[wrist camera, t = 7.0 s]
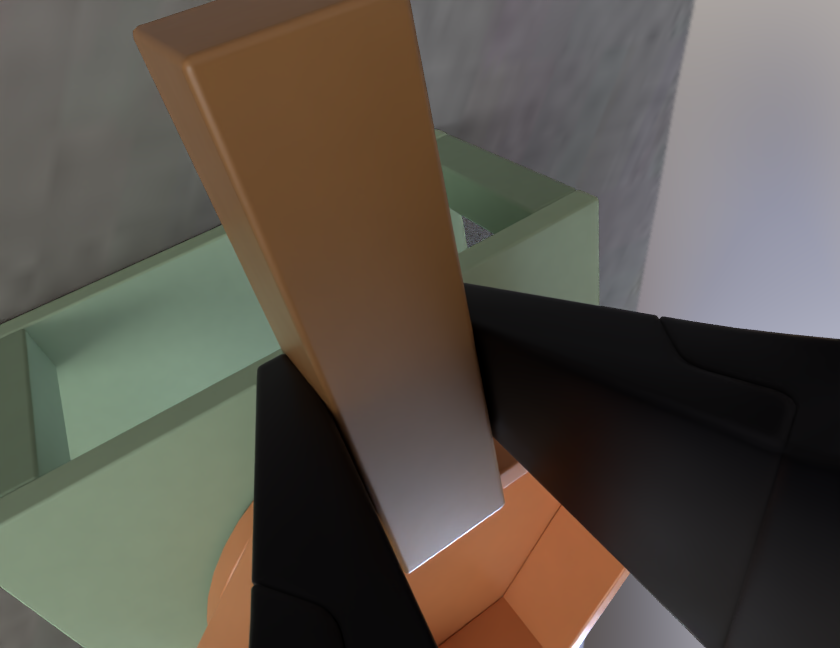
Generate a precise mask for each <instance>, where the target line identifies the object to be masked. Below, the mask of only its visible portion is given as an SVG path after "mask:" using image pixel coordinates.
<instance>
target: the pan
mask: <svg viewBox="0 0 840 648" xmlns="http://www.w3.org/2000/svg"><path fill="white" fill-rule="evenodd" d="M133 37H134V40H135V42H136V45H137V47H138V49H139V51H140V53H141V55H142V57H143V59H144V61H145V63H146V66H147V68H148V70H149V72H150V74H151V76H152V78H153V80H154V82H155V85H156V87H157V89H158V91H159V93H160V95H161V97H162V99H163V101H164V103H165V106H166V108H167V110H168V112H169V114H170V116H171V118H172V120H173V122H174V124H175V127H176V129H177V131H178V133H179V135H180V137H181V139H182V141H183V143H184V146H185V148H186V150H187V152H188V154H189V156H190V158H191V160H192V162H193V164H194V167H195V169H196V171H197V173H198V175H199V177H200V179H201V181H202V183H203V185H204V188H205V190H206V192H207V194H208V196H209V198H210V200H211V202H212V204H213V206H214V209H215V211H216V213H217V215H218V217H219V219H220V221H221V223H222V225H223V228H224V230H225V232H226V234H227V236H228V238H229V240H230V242H231V244H232V246H233V249H234V251H235V253H236V255H237V257H238V259H239V261H240V263H241V265H242V267H243V270H244V272H245V274H246V276H247V278H248V280H249V282H250V284H251V286H252V289H253V291H254V293H255V295H256V297H257V299H258V301H259V303H260V305H261V307H262V310H263V312H264V314H265V316H266V318H267V320H268V322H269V324H270V326H271V328H272V331H273V333H274V335H275V337H276V339H277V341H278V343H279V345H280V347H281V350H282V352H283V354H286V355H287V356H288V358H289V359H290V360H291V361H292V363H293V364H294V365H295V366H296V368H297V369H298V370H299V371H300V373H301V374H302V375H303V376H304V377H305V379H306V380H307V381H308V382H309V384H310V385H311V386H312V387H313V389H314V390H315V391H316V392H317V394H318V395H319V396H320V398H321V399H322V400H323V402H324V403H325V404H326V406H327V408H328V409H329V411H330V414H331V416H332V418H333V420H334V422H335V424H336V427H337V429H338V431H339V433H340V435H341V438H342V440H343V442H344V444H345V446H346V448H347V451H348V453H349V455H350V457H351V459H352V461H353V464H354V466H355V468H356V470H357V472H358V474H359V477H360V479H361V481H362V483H363V485H364V487H365V490H366V492H367V494H368V496H369V498H370V500H371V503H372V505H373V507H374V509H375V511H376V513H377V516H378V518H379V520H380V522H381V524H382V527H383V529H384V531H385V533H386V535H387V537H388V540H389V542H390V544H391V546H392V548H393V550H394V553H395V555H396V557H397V559H398V561H399V563H400V566H401V568H402V570H403V572H404V574H405V576H406V579H407V581H408V583H409V585H410V587H411V589H412V592H413V594H414V596H415V598H416V600H417V602H418V605H419V607H420V609H421V611H422V613H423V616H424V618H425V620H426V622H427V624H428V626H429V629H430V631H431V633H432V635H433V637H434V639H435V642H436V644H437V646H438V648H578V647H579V646H580V644H581V643H582V641H583V640H584V639H585V637H586V636H587V634H588V633H589V631H590V630H591V628H592V627H593V626H594V624H595V623H596V621H597V620H598V618H599V617H600V615H601V614H602V613H603V611H604V610H605V608H606V607H607V605H608V604H609V602H610V601H611V600H612V598H613V597H614V595H615V594H616V592H617V591H618V590H619V588H620V587H621V585H622V584H623V582H624V581H625V579H626V578H627V577H628V575H629V573H630V572H629V571H628V570H627V569H626V568H625V567H624V566H623V565H622V564H621V563H620V562H619V561H618V560H617V559H616V558H615V557H614V556H613V555H612V554H611V553H610V552H609V551H608V550H606V549H605V548H604V547H603V546H602V545H601V544H600V543H599V542H598V541H597V540H596V539H595V538H594V537H593V536H592V535H591V534H590V533H589V532H588V531H587V530H586V529H585V528H584V527H583V526H582V525H581V524H580V523H579V522H578V521H577V520H576V519H575V518H574V517H573V516H572V515H571V514H570V513H569V512H568V511H567V510H566V509H565V508H564V507H563V506H562V505H561V504H560V503H559V502H558V501H557V500H556V499H555V498H554V497H553V496H552V495H551V494H550V493H549V492H548V491H547V490H546V489H545V488H544V487H543V486H542V485H541V484H540V483H539V482H538V481H537V480H536V479H535V478H534V477H533V476H532V475H531V474H530V473H529V472H528V471H527V470H526V469H525V468H524V467H523V466H522V465H521V464H520V463H519V462H518V461H517V460H516V459H515V458H514V457H513V456H512V455H511V454H510V453H509V452H508V451H507V450H506V449H505V448H504V447H503V446H502V445H501V444H500V443H499V442H498V441H497V440H496V439H495V438H494V437H493V436H492V430H491V425H490V420H489V414H488V409H487V404H486V399H485V393H484V388H483V383H482V378H481V372H480V367H479V362H478V357H477V351H476V346H475V341H474V336H473V330H472V325H471V320H470V315H469V309H468V304H467V299H466V293H465V288H464V283H463V278H462V272H461V267H460V262H459V257H458V251H457V246H456V241H455V236H454V230H453V225H452V220H451V215H450V209H449V204H448V199H447V193H446V188H445V183H444V178H443V172H442V167H441V162H440V157H439V151H438V146H437V141H436V136H435V130H434V125H433V120H432V115H431V109H430V104H429V99H428V94H427V88H426V83H425V78H424V72H423V67H422V62H421V57H420V51H419V46H418V41H417V36H416V30H415V25H414V20H413V15H412V9H411V4H410V0H216V1H213V2H210V3H207V4H203V5H200V6H197V7H194V8H191V9H188V10H185V11H182V12H179V13H176V14H173V15H170V16H167V17H164V18H161V19H158V20H155V21H152V22H149V23H145V24H142V25H139V26H137V27H136V28H135V29H134V30H133ZM253 502H254V500H253V501H252V503H251V504H250V506H249V507H248V508H247V510H246V511H245V513H244V514H243V515H242V517H241V518H240V520H239V521H238V523H237V524H236V526H235V528H234V530H233V532H232V533H231V535H230V537H229V539H228V541H227V542H226V544H225V546H224V548H223V551H222V553H221V556H220V558H219V561H218V563H217V566H216V568H215V571H214V573H213V578H212V582H211V586H210V590H209V595H208V604H207V625H208V626H207V628H206V630H205V632H204V634H203V636H202V638H201V640H200V642H199V644H198V646H197V648H249V632H250V606H251V588H252V587H253V586H254V585H253V583H252V541H253Z"/></svg>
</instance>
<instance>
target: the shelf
mask: <svg viewBox="0 0 840 648" xmlns="http://www.w3.org/2000/svg"><path fill="white" fill-rule="evenodd" d="M434 130H435V136H436V141H437V146H438V151H439V157H440V162H441V167H442V172H443V178H444V183H445V188H446V193H447V199H448V204H449V209H450V215H451V220H452V225H453V230H454V236H455V241H456V246H457V251H458V257H459V262H460V267H461V272H462V278H463V283H469V284H475V285H481V286H487V287H493V288H499V289H504V290H510V291H516V292H522V293H528V294H534V295H540V296H545V297H551V298H557V299H563V300H569V301H575V302H581V303H586V304H592V305H598V306H599V200H598V198H597V197H595V196H592V195H590V194H588V193H585V192H583V191H581V190H575V189H574V188H572V187H570V186H568V185H565V184H563V183H561V182H558V181H556V180H554V179H551V178H549V177H547V176H544V175H542V174H540V173H537V172H535V171H533V170H530V169H528V168H526V167H523V166H521V165H519V164H516V163H514V162H512V161H509V160H507V159H505V158H502V157H500V156H498V155H495V154H493V153H491V152H488V151H486V150H484V149H481V148H479V147H477V146H474V145H472V144H470V143H467V142H465V141H463V140H460V139H458V138H456V137H453V136H451V135H447V133H445V132H443V131H440V130H438V129H434ZM462 216H464V217H465V218H467V219H469V220H471V221H472V222H474V223H476V224H477V225H479V226H481V227H482V228H484V229H486V230H488V231H489V232H491V233H493V234H494V235H492V236H490V237H488V238H486V239H485V240H483V241H481V242H479V243H477V244H475V245H473V246H471V247H470V248H468V249H467V243H466V237H465V232H464V226H463V220H462ZM280 354H283V352H282V350H281V347H280V345H279V343H278V341H277V339H276V337H275V335H274V333H273V331H272V328H271V326H270V324H269V322H268V320H267V318H266V316H265V314H264V312H263V310H262V307H261V305H260V303H259V301H258V299H257V297H256V295H255V293H254V291H253V289H252V286H251V284H250V282H249V280H248V278H247V276H246V274H245V272H244V270H243V267H242V265H241V263H240V261H239V259H238V257H237V255H236V253H235V251H234V249H233V246H232V244H231V242H230V240H229V238H228V236H227V234H226V232H225V230H224V228H223V225H221V226H218V227H216V228H214V229H212V230H209V231H207V232H205V233H203V234H201V235H198V236H196V237H194V238H192V239H189V240H187V241H185V242H183V243H181V244H178V245H176V246H174V247H172V248H169V249H167V250H165V251H163V252H161V253H158V254H156V255H154V256H152V257H150V258H147V259H145V260H143V261H141V262H138V263H136V264H134V265H132V266H130V267H127V268H125V269H123V270H121V271H118V272H116V273H114V274H112V275H110V276H107V277H105V278H103V279H101V280H98V281H96V282H94V283H92V284H90V285H87V286H85V287H83V288H81V289H78V290H76V291H74V292H72V293H70V294H67V295H65V296H63V297H61V298H58V299H56V300H54V301H52V302H50V303H47V304H45V305H43V306H41V307H39V308H36V309H34V310H32V311H30V312H27V313H25V314H23V315H21V316H19V317H16V318H14V319H12V320H10V321H7V322H5V323H3V324H1V325H0V587H1V588H3V589H4V590H5V591H7V592H8V593H10V594H11V595H12V596H14V597H15V598H16V599H18V600H19V601H21V602H22V603H23V604H25V605H26V606H27V607H29V608H30V609H31V610H33V611H34V612H36V613H37V614H38V615H40V616H41V617H42V618H44V619H45V620H46V621H48V622H49V623H51V624H52V625H53V626H55V627H56V628H57V629H59V630H60V631H62V632H63V633H64V634H66V635H67V636H68V637H70V638H71V639H72V640H74V641H75V642H77V643H78V644H79V645H81V646H82V647H83V648H197V646H198V644H199V642H200V640H201V638H202V636H203V634H204V632H205V630H206V628H207V626H208V625H207V604H208V595H209V590H210V586H211V582H212V578H213V573H214V571H215V568H216V566H217V563H218V561H219V558H220V556H221V553H222V551H223V548H224V546H225V544H226V542H227V541H228V539H229V537H230V535H231V533H232V532H233V530H234V528H235V526H236V524H237V523H238V521H239V520H240V518H241V517H242V515H243V514H244V513H245V511H246V510H247V508H248V507H249V506H250V504H251V503H252V501H253V500H254V462H255V423H256V383H257V369H258V367H259V366H260V365H262V364H263V363H265V362H267V361H269V360H271V359H273V358H275V357H276V356H278V355H280Z"/></svg>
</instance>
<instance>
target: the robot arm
mask: <svg viewBox="0 0 840 648" xmlns="http://www.w3.org/2000/svg"><path fill="white" fill-rule="evenodd" d="M464 288H465V293H466V299H467V304H468V309H469V315H470V320H471V325H472V330H473V336H474V341H475V346H476V351H477V357H478V362H479V367H480V372H481V378H482V383H483V388H484V393H485V399H486V404H487V409H488V414H489V420H490V425H491V430H492V436H493V437H494V438H495V439H496V440H497V441H498V442H499V443H500V444H501V445H502V446H503V447H504V448H505V449H506V450H507V451H508V452H509V453H510V454H511V455H512V456H513V457H514V458H515V459H516V460H517V461H518V462H519V463H520V464H521V465H522V466H523V467H524V468H525V469H526V470H527V471H528V472H529V473H530V474H531V475H532V476H533V477H534V478H535V479H536V480H537V481H538V482H539V483H540V484H541V485H542V486H543V487H544V488H545V489H546V490H547V491H548V492H549V493H550V494H551V495H552V496H553V497H554V498H555V499H556V500H557V501H558V502H559V503H560V504H561V505H562V506H563V507H564V508H565V509H566V510H567V511H568V512H569V513H570V514H571V515H572V516H573V517H574V518H575V519H576V520H577V521H578V522H579V523H580V524H581V525H582V526H583V527H584V528H585V529H586V530H587V531H588V532H589V533H590V534H591V535H592V536H593V537H594V538H595V539H596V540H597V541H598V542H599V543H600V544H601V545H602V546H603V547H604V548H605V549H606V550H608V551H609V552H610V553H611V554H612V555H613V556H614V557H615V558H616V559H617V560H618V561H619V562H620V563H621V564H622V565H623V566H624V567H625V568H626V569H627V570H628V571H629V572H630V573H631V574H632V575H633V576H634V577H635V578H636V579H637V580H638V581H639V582H640V583H641V584H642V585H643V586H644V587H645V588H646V589H647V590H648V591H649V592H650V593H651V594H652V595H653V596H654V597H655V598H656V599H657V600H658V601H659V602H660V603H661V604H662V605H663V606H664V607H665V608H666V609H667V610H668V611H669V612H670V613H671V614H672V615H673V616H674V617H675V618H676V619H677V620H678V621H679V622H680V623H681V624H682V625H683V626H684V627H685V628H686V629H687V630H688V631H689V632H690V633H691V634H692V635H693V636H694V637H695V638H696V639H697V640H698V641H699V642H700V643H701V644H702V645H703V646H704V647H705V648H840V339H832V338H823V337H813V336H803V335H793V334H783V333H775V332H766V331H758V330H748V329H740V328H733V327H726V326H719V325H713V324H706V323H700V322H693V321H687V320H681V319H675V318H669V317H661V318H660V319H659V318H658V317H657V316H656V315H651V314H645V313H639V312H633V311H627V310H622V309H616V308H610V307H604V306H598V305H592V304H586V303H581V302H575V301H569V300H563V299H557V298H551V297H545V296H540V295H534V294H528V293H522V292H516V291H510V290H504V289H499V288H493V287H487V286H481V285H475V284H469V283H464ZM252 583H253V585H254V586H253V587H252V588H251V606H250V632H249V648H438V646H437V644H436V642H435V639H434V637H433V635H432V633H431V631H430V629H429V626H428V624H427V622H426V620H425V618H424V616H423V613H422V611H421V609H420V607H419V605H418V602H417V600H416V598H415V596H414V594H413V592H412V589H411V587H410V585H409V583H408V581H407V579H406V576H405V574H404V572H403V570H402V568H401V566H400V563H399V561H398V559H397V557H396V555H395V553H394V550H393V548H392V546H391V544H390V542H389V540H388V537H387V535H386V533H385V531H384V529H383V527H382V524H381V522H380V520H379V518H378V516H377V513H376V511H375V509H374V507H373V505H372V503H371V500H370V498H369V496H368V494H367V492H366V490H365V487H364V485H363V483H362V481H361V479H360V477H359V474H358V472H357V470H356V468H355V466H354V464H353V461H352V459H351V457H350V455H349V453H348V451H347V448H346V446H345V444H344V442H343V440H342V438H341V435H340V433H339V431H338V429H337V427H336V424H335V422H334V420H333V418H332V416H331V414H330V411H329V409H328V408H327V406H326V404H325V403H324V402H323V400H322V399H321V398H320V396H319V395H318V394H317V392H316V391H315V390H314V389H313V387H312V386H311V385H310V384H309V382H308V381H307V380H306V379H305V377H304V376H303V375H302V374H301V373H300V371H299V370H298V369H297V368H296V366H295V365H294V364H293V363H292V361H291V360H290V359H289V358H288V356H287V355H286V354H280V355H278V356H276V357H275V358H273V359H271V360H269V361H267V362H265V363H263V364H262V365H260V366H259V367H258V369H257V383H256V423H255V462H254V502H253V541H252Z"/></svg>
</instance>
